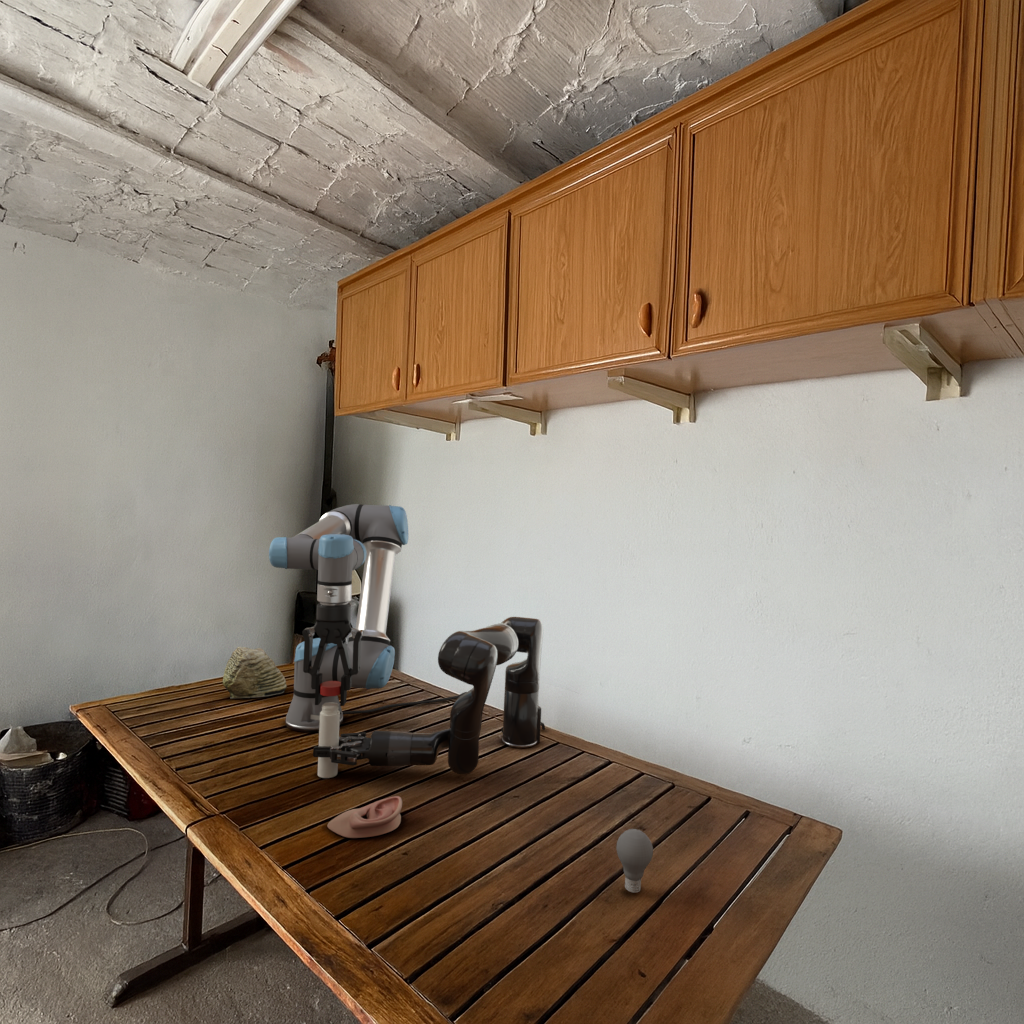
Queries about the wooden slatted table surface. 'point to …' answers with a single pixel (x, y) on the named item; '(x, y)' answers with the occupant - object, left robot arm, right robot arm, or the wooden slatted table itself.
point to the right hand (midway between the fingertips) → (316, 747)
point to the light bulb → (634, 857)
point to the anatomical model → (369, 819)
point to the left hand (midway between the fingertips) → (330, 703)
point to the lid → (330, 688)
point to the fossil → (252, 674)
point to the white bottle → (328, 737)
